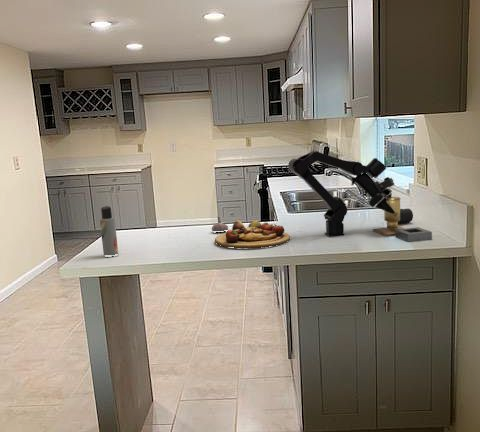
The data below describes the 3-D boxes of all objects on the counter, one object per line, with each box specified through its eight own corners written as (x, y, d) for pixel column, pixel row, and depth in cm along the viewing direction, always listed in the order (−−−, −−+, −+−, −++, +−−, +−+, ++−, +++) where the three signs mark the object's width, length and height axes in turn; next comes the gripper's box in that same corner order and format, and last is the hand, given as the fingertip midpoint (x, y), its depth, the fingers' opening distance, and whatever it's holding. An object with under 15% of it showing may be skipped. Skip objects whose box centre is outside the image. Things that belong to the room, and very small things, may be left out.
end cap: (394, 226, 218) (394, 211, 217) (385, 224, 225) (384, 209, 224) (413, 224, 221) (413, 209, 220) (403, 221, 228) (403, 207, 226)
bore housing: (408, 242, 188) (407, 234, 188) (395, 236, 198) (395, 229, 198) (431, 239, 190) (431, 231, 190) (418, 234, 200) (418, 227, 199)
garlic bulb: (210, 234, 227) (209, 217, 226) (214, 231, 234) (213, 214, 233) (226, 234, 225) (224, 217, 224) (230, 230, 232) (229, 214, 231)
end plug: (388, 229, 202) (388, 199, 200) (381, 226, 209) (381, 197, 206) (403, 228, 203) (403, 198, 201) (395, 225, 210) (395, 196, 208)
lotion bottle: (119, 253, 200) (114, 205, 197) (116, 257, 195) (111, 207, 191) (105, 254, 200) (100, 206, 197) (102, 258, 195) (96, 208, 191)
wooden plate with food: (241, 255, 186) (240, 233, 185) (201, 241, 213) (200, 222, 212) (306, 242, 203) (305, 222, 202) (262, 231, 230) (261, 213, 228)
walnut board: (386, 236, 199) (385, 234, 199) (372, 231, 211) (372, 228, 211) (413, 233, 202) (413, 231, 201) (398, 228, 213) (398, 226, 213)
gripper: (376, 173, 196) (405, 201, 192) (386, 169, 212) (413, 195, 209) (357, 193, 201) (385, 220, 197) (368, 187, 217) (394, 212, 214)
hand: (395, 211), depth 204 cm, fingers closed on end plug, 6 cm apart
